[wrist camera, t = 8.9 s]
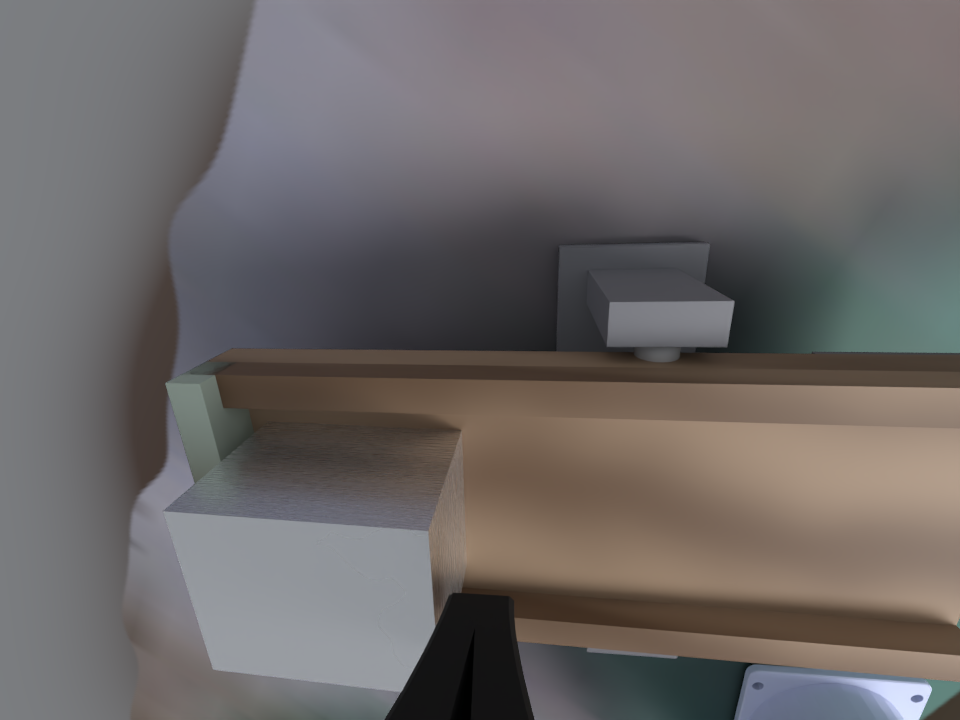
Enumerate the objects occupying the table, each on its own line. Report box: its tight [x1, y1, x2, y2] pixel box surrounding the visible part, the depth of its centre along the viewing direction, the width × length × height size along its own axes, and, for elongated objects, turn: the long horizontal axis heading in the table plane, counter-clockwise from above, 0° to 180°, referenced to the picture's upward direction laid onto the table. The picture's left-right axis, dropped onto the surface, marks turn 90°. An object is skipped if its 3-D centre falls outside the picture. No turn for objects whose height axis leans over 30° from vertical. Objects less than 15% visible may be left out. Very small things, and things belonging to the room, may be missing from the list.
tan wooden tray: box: [165, 347, 960, 682], centre depth 14 cm, size 10×22×4 cm, turn 92°
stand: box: [556, 242, 735, 659], centre depth 16 cm, size 14×5×6 cm, turn 2°
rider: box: [163, 421, 467, 692], centre depth 13 cm, size 5×6×4 cm
